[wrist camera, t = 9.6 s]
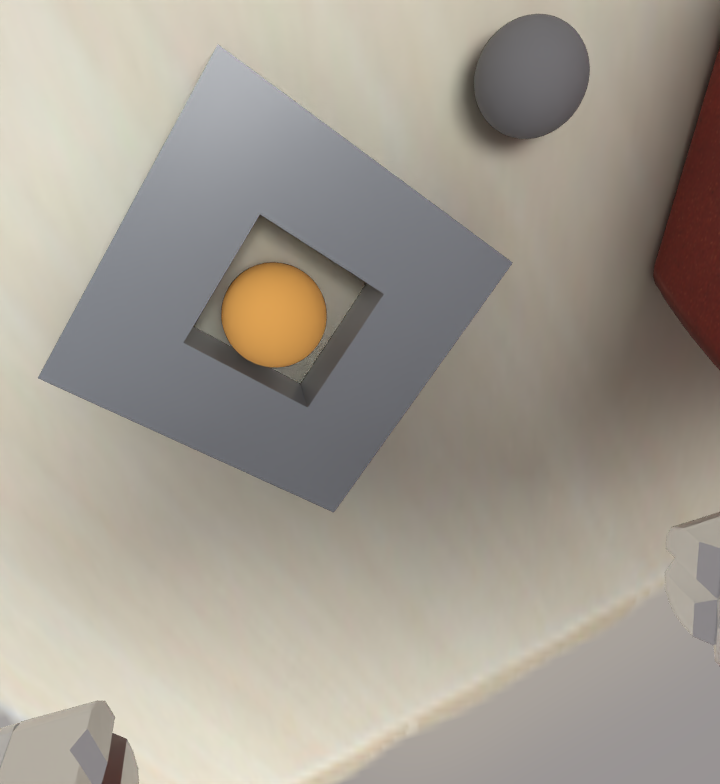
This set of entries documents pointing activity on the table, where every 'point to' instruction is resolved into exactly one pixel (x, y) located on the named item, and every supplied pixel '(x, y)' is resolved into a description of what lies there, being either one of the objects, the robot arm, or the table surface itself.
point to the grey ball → (531, 76)
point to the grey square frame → (211, 260)
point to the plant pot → (696, 232)
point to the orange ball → (273, 314)
